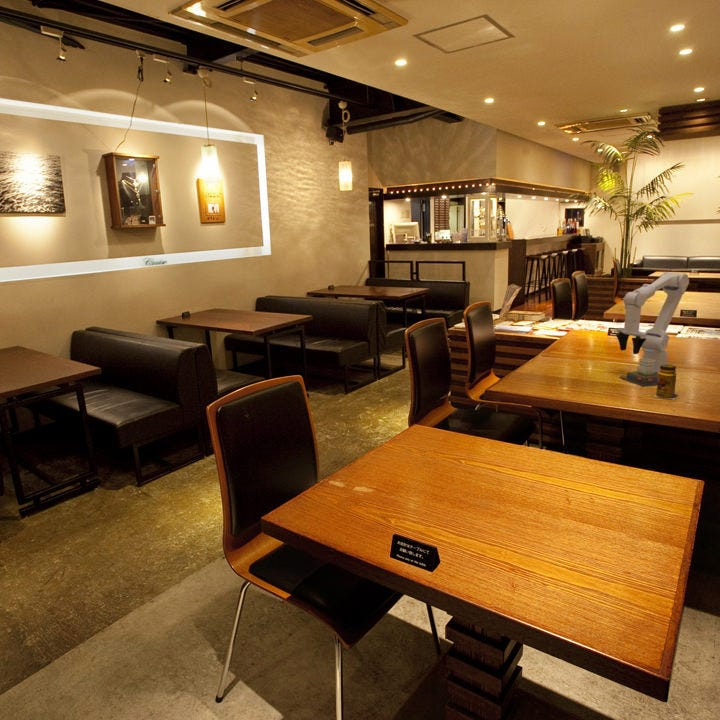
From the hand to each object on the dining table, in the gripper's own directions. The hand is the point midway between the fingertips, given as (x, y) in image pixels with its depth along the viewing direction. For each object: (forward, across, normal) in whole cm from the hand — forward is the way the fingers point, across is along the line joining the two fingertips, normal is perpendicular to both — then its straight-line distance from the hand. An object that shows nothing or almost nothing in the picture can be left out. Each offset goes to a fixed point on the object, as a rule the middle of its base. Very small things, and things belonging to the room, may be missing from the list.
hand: (629, 351), depth 235 cm
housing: (+10, +10, +1) cm, 14 cm away
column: (+8, +10, +1) cm, 12 cm away
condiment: (+11, +29, -7) cm, 31 cm away
